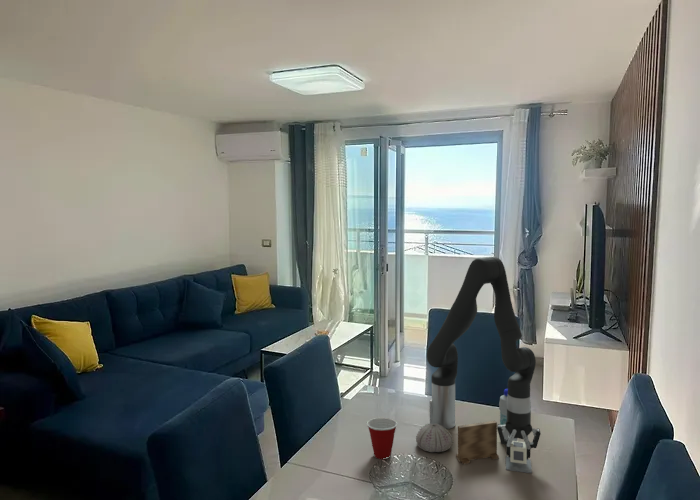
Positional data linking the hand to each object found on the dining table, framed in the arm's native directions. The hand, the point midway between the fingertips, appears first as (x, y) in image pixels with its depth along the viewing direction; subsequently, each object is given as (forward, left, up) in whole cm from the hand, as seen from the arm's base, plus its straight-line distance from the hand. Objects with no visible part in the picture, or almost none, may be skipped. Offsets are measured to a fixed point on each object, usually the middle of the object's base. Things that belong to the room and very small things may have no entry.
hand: (518, 457), depth 159 cm
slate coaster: (0, 0, -3) cm, 3 cm away
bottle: (-8, +14, -3) cm, 16 cm away
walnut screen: (-13, -3, -3) cm, 14 cm away
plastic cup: (-41, -20, -3) cm, 46 cm away
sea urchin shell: (-29, -4, -3) cm, 29 cm away
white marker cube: (0, 0, -1) cm, 1 cm away
